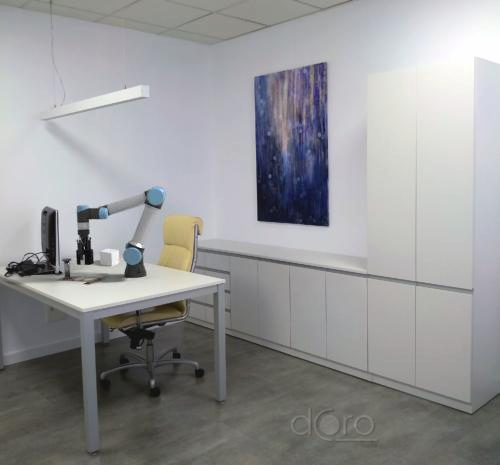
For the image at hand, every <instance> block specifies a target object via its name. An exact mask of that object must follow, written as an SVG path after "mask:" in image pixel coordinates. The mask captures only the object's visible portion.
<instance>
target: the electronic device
mask: <svg viewBox="0 0 500 465" xmlns="http://www.w3.org/2000/svg"><path fill="white" fill-rule="evenodd" d="M75 254H76V256H75V257H76V265H78V266H82V265H81V260H80V255H78V249H76V250H75ZM84 255H85V265H84V266H90V265H93V264H94V262H95V260H94V249H92V248H91V249H85V248H84Z"/></svg>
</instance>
